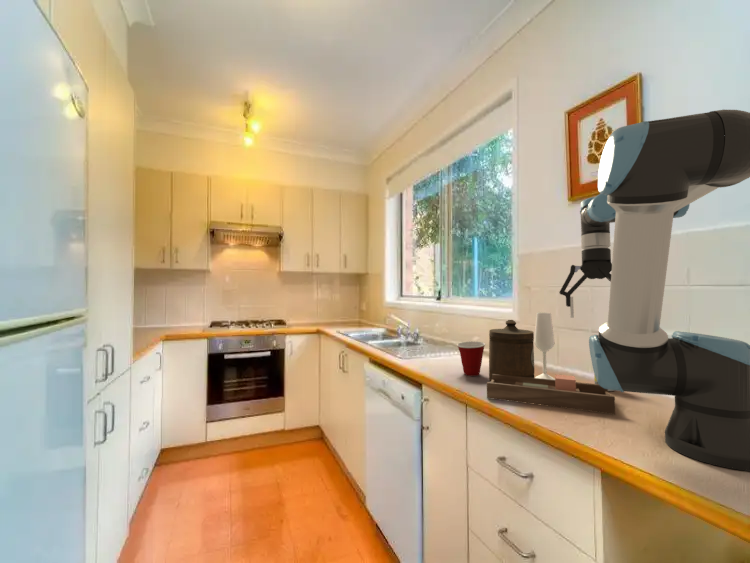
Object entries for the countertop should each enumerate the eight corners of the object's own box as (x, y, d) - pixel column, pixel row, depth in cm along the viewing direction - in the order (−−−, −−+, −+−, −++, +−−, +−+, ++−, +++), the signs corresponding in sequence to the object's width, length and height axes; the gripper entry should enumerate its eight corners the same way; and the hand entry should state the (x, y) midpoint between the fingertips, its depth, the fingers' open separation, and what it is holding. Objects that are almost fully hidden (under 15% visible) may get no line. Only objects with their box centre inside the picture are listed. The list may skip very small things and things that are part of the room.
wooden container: (544, 386, 115) (543, 320, 116) (507, 390, 111) (505, 322, 112) (515, 375, 130) (514, 317, 130) (480, 379, 125) (479, 318, 126)
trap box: (615, 414, 89) (614, 396, 89) (486, 397, 103) (486, 382, 103) (607, 400, 100) (607, 385, 100) (492, 387, 114) (492, 373, 114)
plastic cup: (451, 372, 135) (450, 342, 135) (472, 369, 140) (472, 340, 140) (469, 379, 125) (469, 346, 126) (492, 375, 130) (491, 344, 130)
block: (575, 394, 96) (575, 380, 96) (555, 392, 98) (555, 378, 99) (574, 389, 101) (574, 376, 101) (555, 387, 103) (555, 374, 103)
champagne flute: (550, 376, 128) (549, 312, 129) (558, 381, 122) (557, 313, 122) (532, 376, 129) (530, 312, 130) (538, 380, 122) (537, 313, 123)
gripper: (643, 247, 103) (646, 318, 102) (550, 252, 114) (551, 316, 113) (649, 244, 96) (652, 320, 95) (550, 249, 108) (551, 317, 107)
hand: (597, 318), depth 104 cm, fingers open, 13 cm apart
